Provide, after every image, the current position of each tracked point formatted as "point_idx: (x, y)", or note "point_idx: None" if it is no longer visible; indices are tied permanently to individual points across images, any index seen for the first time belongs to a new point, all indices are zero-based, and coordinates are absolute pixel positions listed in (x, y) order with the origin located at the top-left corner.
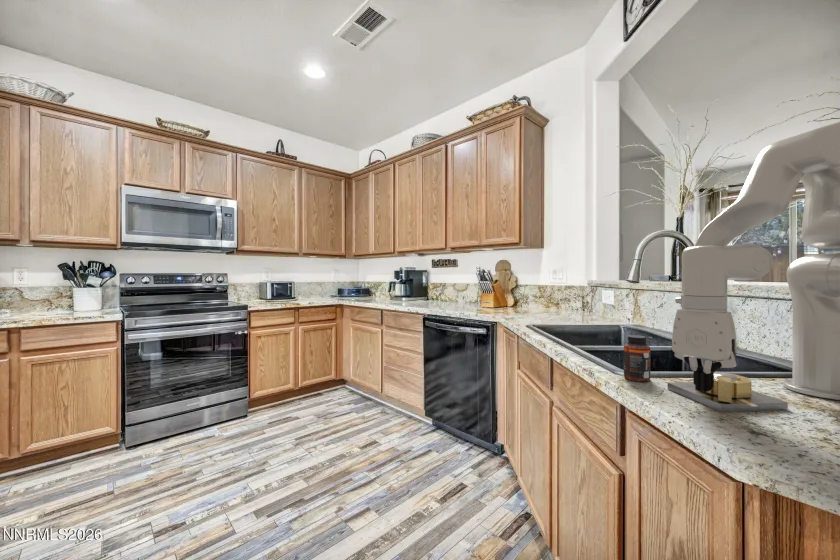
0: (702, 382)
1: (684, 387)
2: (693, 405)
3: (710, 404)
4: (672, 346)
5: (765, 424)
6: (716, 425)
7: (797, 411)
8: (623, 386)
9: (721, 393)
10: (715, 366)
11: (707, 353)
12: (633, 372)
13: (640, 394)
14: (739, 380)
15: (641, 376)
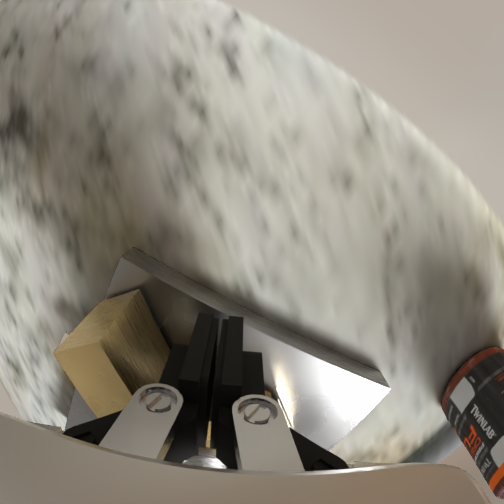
0: (198, 338)
1: (322, 383)
2: (235, 240)
3: (176, 277)
4: (489, 502)
5: (22, 238)
6: (95, 67)
7: (60, 423)
8: (499, 255)
9: (114, 307)
10: (96, 434)
11: (36, 486)
12: (501, 364)
13: (439, 202)
14: None
15: (473, 373)
